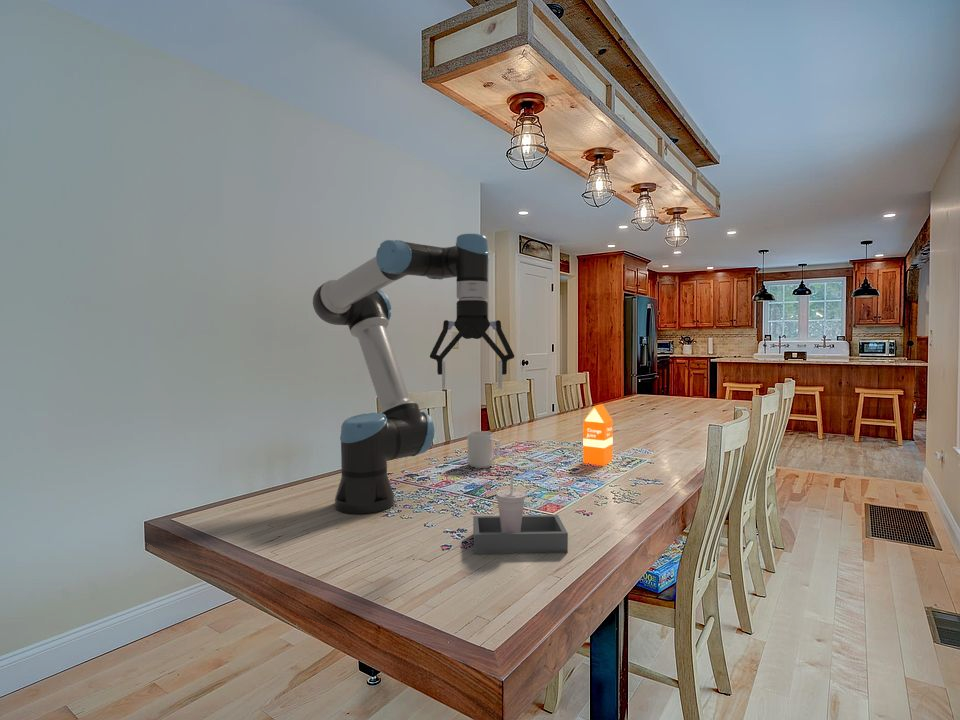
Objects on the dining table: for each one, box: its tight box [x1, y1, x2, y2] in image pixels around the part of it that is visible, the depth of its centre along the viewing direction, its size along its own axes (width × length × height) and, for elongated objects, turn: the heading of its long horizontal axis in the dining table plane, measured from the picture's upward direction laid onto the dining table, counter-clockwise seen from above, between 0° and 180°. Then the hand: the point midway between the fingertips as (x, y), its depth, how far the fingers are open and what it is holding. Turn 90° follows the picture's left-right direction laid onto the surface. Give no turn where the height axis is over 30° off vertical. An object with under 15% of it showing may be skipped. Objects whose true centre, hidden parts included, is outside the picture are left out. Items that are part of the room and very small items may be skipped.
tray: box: [472, 514, 569, 555], centre depth 113 cm, size 11×19×4 cm, turn 92°
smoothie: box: [495, 473, 527, 532], centre depth 112 cm, size 6×6×14 cm
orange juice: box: [582, 403, 614, 467], centre depth 184 cm, size 8×9×20 cm
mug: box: [466, 430, 501, 469], centre depth 178 cm, size 12×9×11 cm
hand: (472, 388), depth 128 cm, fingers open, 13 cm apart
